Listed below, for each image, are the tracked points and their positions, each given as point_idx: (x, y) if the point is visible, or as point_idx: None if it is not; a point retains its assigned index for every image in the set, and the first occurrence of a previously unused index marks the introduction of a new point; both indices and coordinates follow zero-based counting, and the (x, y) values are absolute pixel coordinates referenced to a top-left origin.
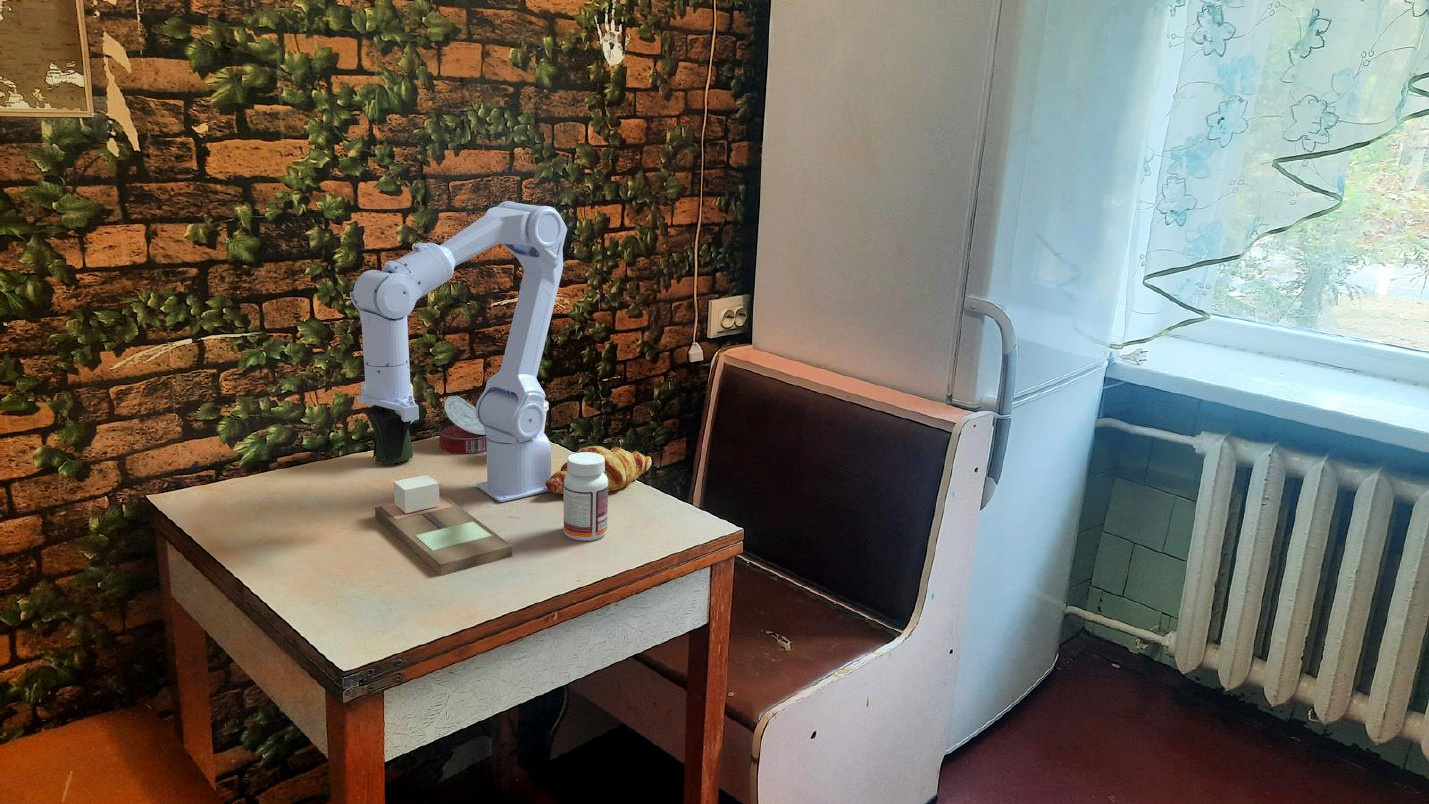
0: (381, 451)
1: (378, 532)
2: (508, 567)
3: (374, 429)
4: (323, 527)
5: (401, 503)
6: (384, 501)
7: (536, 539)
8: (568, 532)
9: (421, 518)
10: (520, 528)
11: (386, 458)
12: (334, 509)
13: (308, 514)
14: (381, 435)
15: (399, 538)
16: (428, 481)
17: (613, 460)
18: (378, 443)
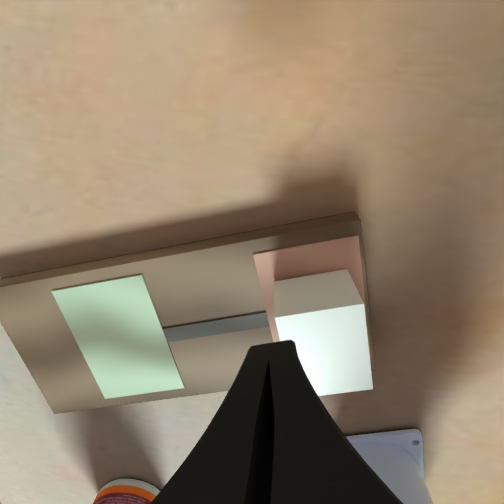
0: (280, 357)
1: (256, 203)
2: (22, 381)
3: (324, 445)
4: (348, 68)
5: (300, 286)
6: (448, 248)
7: (128, 441)
8: (113, 488)
9: (240, 305)
10: (182, 435)
11: (248, 351)
12: (468, 116)
13: (473, 31)
14: (204, 450)
15: (202, 240)
16: (316, 381)
17: None
18: (302, 378)
